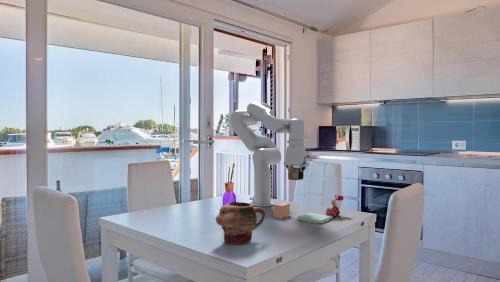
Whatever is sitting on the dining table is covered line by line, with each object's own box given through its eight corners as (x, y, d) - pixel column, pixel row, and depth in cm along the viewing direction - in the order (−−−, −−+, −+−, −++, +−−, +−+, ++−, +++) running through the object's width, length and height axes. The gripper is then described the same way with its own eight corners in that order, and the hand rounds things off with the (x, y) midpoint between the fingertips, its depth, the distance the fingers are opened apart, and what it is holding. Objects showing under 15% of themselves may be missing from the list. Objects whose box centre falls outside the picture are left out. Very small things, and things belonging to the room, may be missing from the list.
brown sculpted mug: (255, 233, 150) (255, 198, 150) (272, 240, 140) (272, 203, 139) (210, 240, 140) (210, 203, 139) (224, 248, 129) (225, 209, 129)
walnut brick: (288, 179, 190) (288, 167, 190) (295, 178, 195) (295, 166, 195) (296, 180, 187) (296, 168, 186) (303, 179, 192) (303, 167, 192)
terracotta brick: (273, 216, 180) (273, 204, 180) (281, 214, 185) (281, 202, 185) (281, 218, 177) (282, 205, 177) (289, 216, 182) (289, 203, 182)
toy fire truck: (325, 218, 178) (325, 198, 178) (337, 213, 189) (337, 194, 188) (331, 219, 176) (331, 198, 176) (343, 214, 187) (343, 195, 186)
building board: (297, 220, 173) (297, 216, 173) (309, 215, 183) (310, 212, 183) (320, 224, 166) (320, 220, 166) (332, 219, 175) (332, 216, 175)
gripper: (278, 142, 193) (277, 177, 193) (307, 143, 182) (306, 180, 183) (286, 142, 199) (285, 176, 199) (314, 143, 188) (314, 179, 189)
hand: (295, 178), depth 191 cm, fingers closed on walnut brick, 5 cm apart
